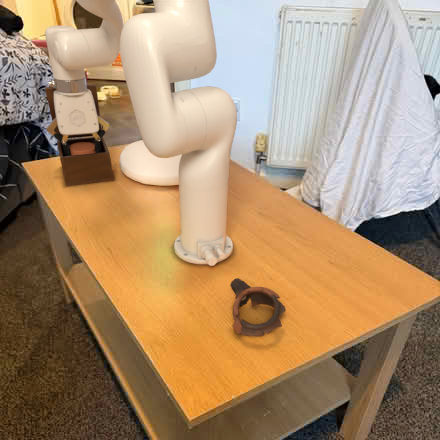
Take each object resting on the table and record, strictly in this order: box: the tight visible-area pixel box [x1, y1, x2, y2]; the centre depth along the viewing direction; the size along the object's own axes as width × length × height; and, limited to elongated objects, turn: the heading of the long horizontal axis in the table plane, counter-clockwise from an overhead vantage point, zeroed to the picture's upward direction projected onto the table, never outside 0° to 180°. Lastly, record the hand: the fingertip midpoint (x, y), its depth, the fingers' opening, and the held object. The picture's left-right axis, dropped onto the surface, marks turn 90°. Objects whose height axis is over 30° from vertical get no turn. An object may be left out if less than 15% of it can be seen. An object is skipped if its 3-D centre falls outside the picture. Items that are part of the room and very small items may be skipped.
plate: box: [118, 139, 182, 187], centre depth 118 cm, size 28×6×27 cm
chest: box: [56, 136, 115, 187], centre depth 114 cm, size 14×13×8 cm
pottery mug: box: [230, 277, 286, 338], centre depth 69 cm, size 12×10×8 cm
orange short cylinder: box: [69, 142, 96, 156], centre depth 113 cm, size 7×7×3 cm
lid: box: [44, 84, 102, 139], centre depth 112 cm, size 14×13×5 cm
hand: (83, 155), depth 113 cm, fingers closed on orange short cylinder, 6 cm apart
